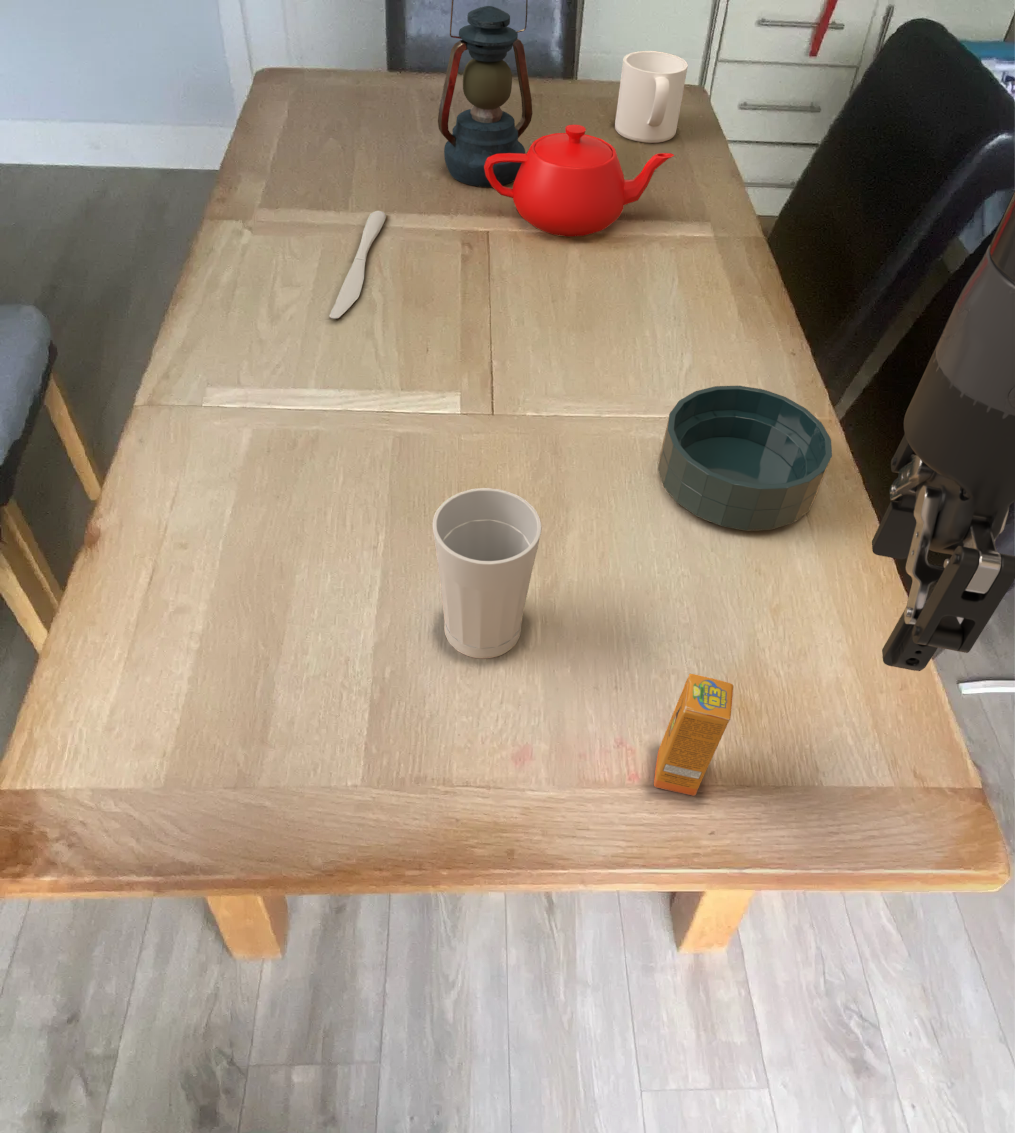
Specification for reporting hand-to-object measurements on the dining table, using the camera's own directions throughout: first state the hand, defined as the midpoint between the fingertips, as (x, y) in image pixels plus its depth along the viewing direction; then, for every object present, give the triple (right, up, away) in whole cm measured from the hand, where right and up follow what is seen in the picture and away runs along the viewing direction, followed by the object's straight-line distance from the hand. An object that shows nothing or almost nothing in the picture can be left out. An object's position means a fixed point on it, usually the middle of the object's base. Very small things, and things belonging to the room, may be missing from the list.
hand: (894, 604), depth 52 cm
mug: (0, +72, +95) cm, 120 cm away
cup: (-24, -3, +23) cm, 34 cm away
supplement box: (-10, -13, +15) cm, 22 cm away
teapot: (-13, +50, +74) cm, 90 cm away
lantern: (-26, +61, +83) cm, 106 cm away
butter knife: (-41, +40, +63) cm, 85 cm away
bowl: (0, +10, +37) cm, 39 cm away
